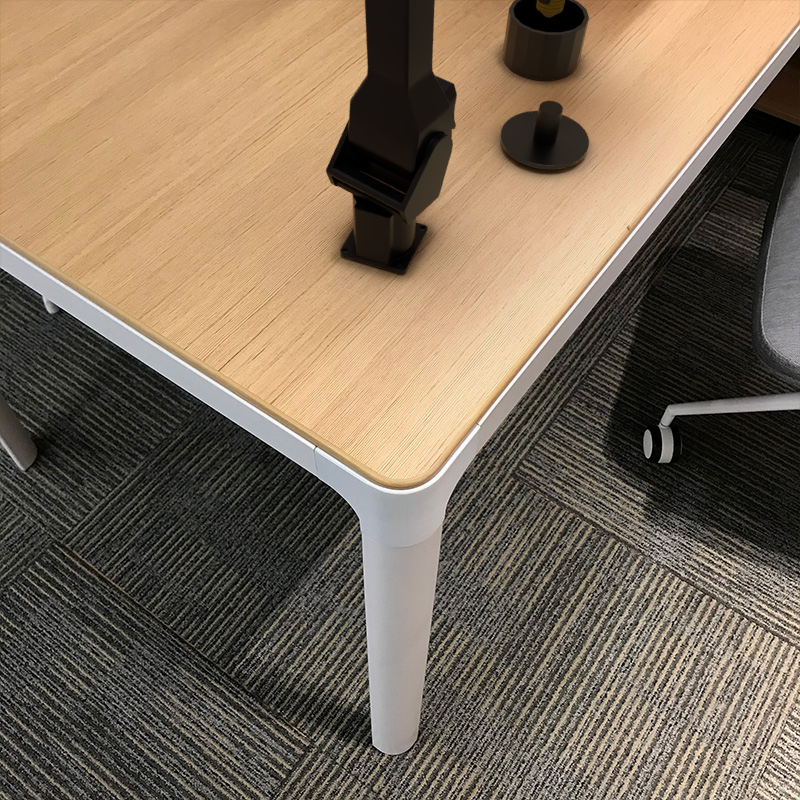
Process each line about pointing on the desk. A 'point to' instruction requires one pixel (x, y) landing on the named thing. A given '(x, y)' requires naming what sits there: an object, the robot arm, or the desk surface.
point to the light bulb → (551, 7)
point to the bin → (544, 40)
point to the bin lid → (545, 138)
